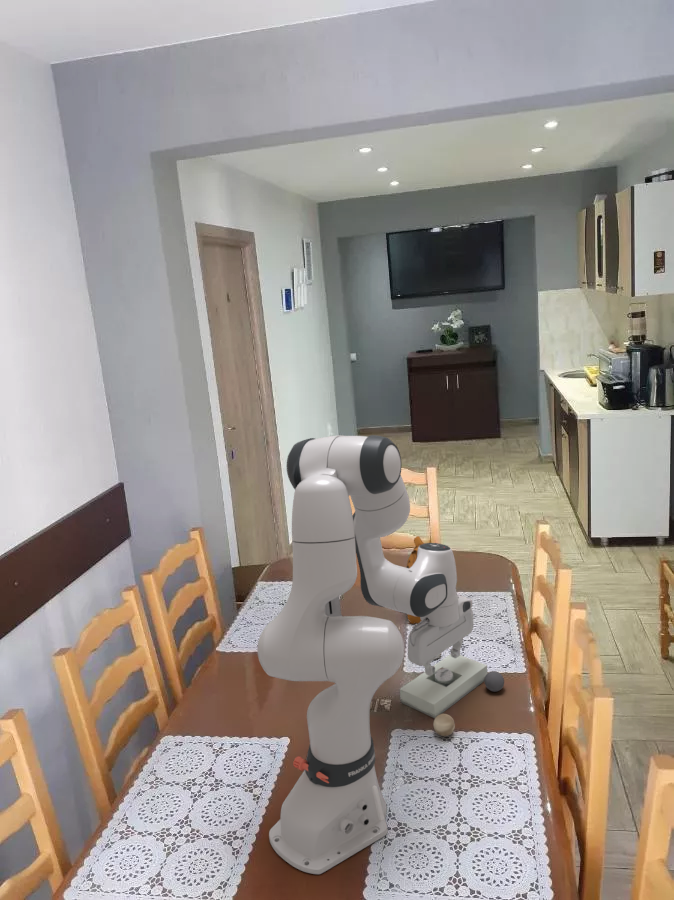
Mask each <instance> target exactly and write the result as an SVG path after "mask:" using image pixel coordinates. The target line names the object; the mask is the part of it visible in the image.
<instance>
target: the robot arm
mask: <svg viewBox="0 0 674 900" xmlns="http://www.w3.org/2000/svg"><path fill="white" fill-rule="evenodd" d="M400 453H401V452H400V450H399V448H398V446H397V445H396V444H395V443H394V442H393V440H391V439H390V438H389V437H386V436H381V435H377V434H376V435H375V434H374V435H373V434H371V435H369V436H365V435H343V434H339V435H329V436H323V437H318V438H316V437H315V438H314V437H311V438H306V439H303V440H300V441H298V442H296V443H294V444H293V446H292V447H291V449H290V451H289V452H288V455H287V459H286V473H287V476H288V480H289V482H290V484H291V486H292V488H293V489H294V493H293V501H292V511H291V543H292V544H291V545H292V546H291V548H292V582H291V583H292V584H291V589H290V592H289V596H288V598H287V600H286V602H285V605H283V607H282V609H281V611H279V613H278V614H277V616H275V617H274V618H273V619H272V620H271V621H270V622H268V623H267V625H266V626H265V627H264V628H263V630H262V631H261V634H260V635H259V638H258V641H257V649H256V650H257V651H256V652H257V657H258V661H259V664H260V665H261V667H262V669H263V671H264V672H265V673H266V675H268V676H269V677H273V678H277V679H281V680H286V681H291V682H331V683H334V684H333V685H331V686H329V687H327V688H325V689H323V690H322V691H320V692H319V693H318V694H317V695H315V697H314V698H312V700H311V701H310V703H309V705H308V708H307V711H306V721H307V728H308V738H309V746H308V749H307V754H306V759H304V758H303V757H302V756H300V755H299V756H296V757H294V761H292V762H293V764H292V765H293V767H294V768H296V769H298V770H299V771H300V772H302V773H301V775H300V776H299V778H298V779H297V781H296V783H295V784H294V786H293V788H292V789H291V790H290V791H289V793H288V795H287V797H285V800H284V801H283V802H282V805H281V807H280V819H279V820H277V822H276V823H275V824H274V825H273V826H272V827H271V828H270V829H269V832H268V838H269V843H270V845H271V848H272V849H273V850H274V851H275V853H276V854H277V855H278V856H279V857H280V858H281V859H283V861H284V862H287V863H288V864H289V865H290V866H291V867H294V868H295V869H296V870H297V869H298V870H299V871H302V872H304V873H307V874H313V875H321V874H323V873H326V871H329V870H330V869H333V868H334V867H335V866H337V865H338V864H340V863H342V862H343V861H345V860H347V859H348V858H350V857H352V856H354V855H355V854H357V853H358V852H360V851H362V850H363V849H365V848H367V847H368V846H371V845H372V844H373V843H375V842H377V841H379V840H380V839H382V838H384V837H385V836H386V835H387V834H388V831H389V830H388V828H389V827H388V825H387V821H386V815H387V811H388V810H387V808H388V807H387V802H386V799H385V797H384V795H383V793H382V790H381V788H380V784H379V781H378V776H377V772H376V767H375V764H376V752H375V743H374V739H373V737H372V735H371V726H370V724H371V722H370V719H371V718H370V713H371V712H370V711H371V710H370V709H371V703H372V700H373V697H374V696H375V694H376V692H377V690H378V689H379V688H380V687H381V686H382V685H383V684H384V683H385V682H386V681H388V679H390V678H392V677H393V676H395V674H396V673H397V672H398V670H399V669H400V667H401V665H402V662H403V660H404V656H405V642H404V638H403V635H402V633H401V631H400V629H399V628H398V627H397V625H396V624H395V623H394V622H393V621H392V620H390V619H385V618H379V617H374V616H369V615H368V616H367V615H352V616H351V615H349V616H348V615H344V616H343V615H342V616H332V617H330V616H327V615H326V614H325V606H326V604H327V603H328V602H329V601H331V600H333V599H335V598H337V597H339V598H340V597H341V596H343V595H344V594H345V593H347V592H348V591H350V590H351V589H352V587H353V586H354V584H355V583H356V582H357V581H356V580H357V579H358V578H357V577H358V567H359V572H360V573H359V575H360V580H359V582H360V591H361V593H362V596H363V599H364V600H365V601H366V603H367V604H369V605H372V606H376V607H379V608H380V607H381V608H386V609H390V610H393V611H396V612H400V613H402V614H405V615H407V614H409V615H412V616H417V617H420V618H421V620H422V621H421V622H419V623H414V624H413V626H412V629H411V631H410V632H409V635H408V638H407V658H408V661H409V662H410V663H412V664H414V665H417V666H419V667H422V666H423V667H424V672H425V673H426V675H429V676H431V675H433V674H434V673H435V667H434V665H431V663H432V660H431V659H433V658H434V657H436V656H437V655H439V654H440V653H441V654H442V653H443V652H445V651H446V650H447V649H449V648H451V649H449V651H450V652H449V653H450V654H451V657H454V658H457V657H459V656H460V655H461V649H462V645H463V643H464V638H465V637H467V636H468V635H471V633H472V632H473V630H474V627H475V626H474V612H473V611H474V610H473V609H472V608H473V605H474V604H473V600H472V599H470V598H468V597H465V596H462V595H460V594H458V593H457V582H458V576H457V566H456V565H457V564H456V559H455V556H454V552H453V550H452V548H451V547H450V546H449V545H446V544H442V543H438V542H425V543H424V542H423V543H424V544H422V545H420V546H419V547H418V552H417V559H416V561H415V563H414V564H413V565H412V567H411V568H406V566H401V565H397V564H395V563H392V562H391V561H389V560H388V559H386V557H385V556H384V552H383V551H384V550H383V546H382V540H381V538H384V537H388V536H390V535H393V534H394V533H395V532H397V531H398V530H399V529H400V528H402V527H403V526H404V524H405V523H406V522H407V520H408V519H409V516H410V513H411V504H410V503H411V502H410V498H409V494H408V490H407V489H406V488H407V487H406V485H405V483H404V482H405V481H404V480H403V479H404V478H403V477H402V475H401V474H402V473H401V472H402V457H401V454H400ZM350 498H351V500H350ZM351 503H352V505H353V508H354V512H353V509H352V505H351ZM357 563H358V566H357Z"/></svg>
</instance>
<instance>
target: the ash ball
mask: <svg viewBox="0 0 674 900" xmlns="http://www.w3.org/2000/svg"><path fill="white" fill-rule="evenodd" d="M433 719H434V720H433V724H432V725H433V730H434V731H435V733H436V734H437V735H439V736H441V737H448V736H451V735H452V734H453V732H454V731H455V727H456V724H455V723H456V722H455V720H454V718H453V717H452V716H451V715H450V714H447V713H442V714H439V715H438V716H437V717H436V718H433Z"/></svg>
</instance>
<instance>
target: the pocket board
mask: <svg viewBox="0 0 674 900" xmlns="http://www.w3.org/2000/svg"><path fill="white" fill-rule="evenodd" d="M433 666H434V667H435V673H436V671H437V670H438V669H440V668H447V669H449V670H451V672H452V673H453V675H454V681H453V683H451V684H450V685H449V686H447V687H445V686H443V685H440V684H438V683H436V682H435V678H434V676H435V673H434V674H433V675H431V676H429V675H426V673H425V671H424V672H422V673H421V674H419V675H418V676H417V677H415V678H413V679H412V680H410V681H409V682H408V683H406V684H404V685H403V686H402V687H400V688H399V695H400V696H399V697H400V698H399V699H400V703H401V704H403V705H406V706H408V707H410V708H412V709H413V710H416V711H418V712H419V713H422V714H425V715H427V716H429V717H431V718H433V719H435V718H436V717H437V716H438V715H439V714H444V713H445V712H446V711H447V710H448V709H450V708H451V707H453V706H454V705H455V704H456V703H458V702H459V701H460V700H461V699H463V698H464V697H465V696H467V695H468V694H469V693H471V692H472V691H474V690H475V689H476V688H477V687H479V686H480V685H481V684H482V683H485V682H484V679H485V676H486V674H487V673H488V664H485V663H482V662H479V661H477V660H474V659H471V658H469V657H466V656H464V655H461V654H460V656H459V657H457V658H454V657H451V653H450V654H449V655H447V656H445V657H444V658H443V659H441V660H440V661H438V662H437V663H436V664H434V665H433Z"/></svg>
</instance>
